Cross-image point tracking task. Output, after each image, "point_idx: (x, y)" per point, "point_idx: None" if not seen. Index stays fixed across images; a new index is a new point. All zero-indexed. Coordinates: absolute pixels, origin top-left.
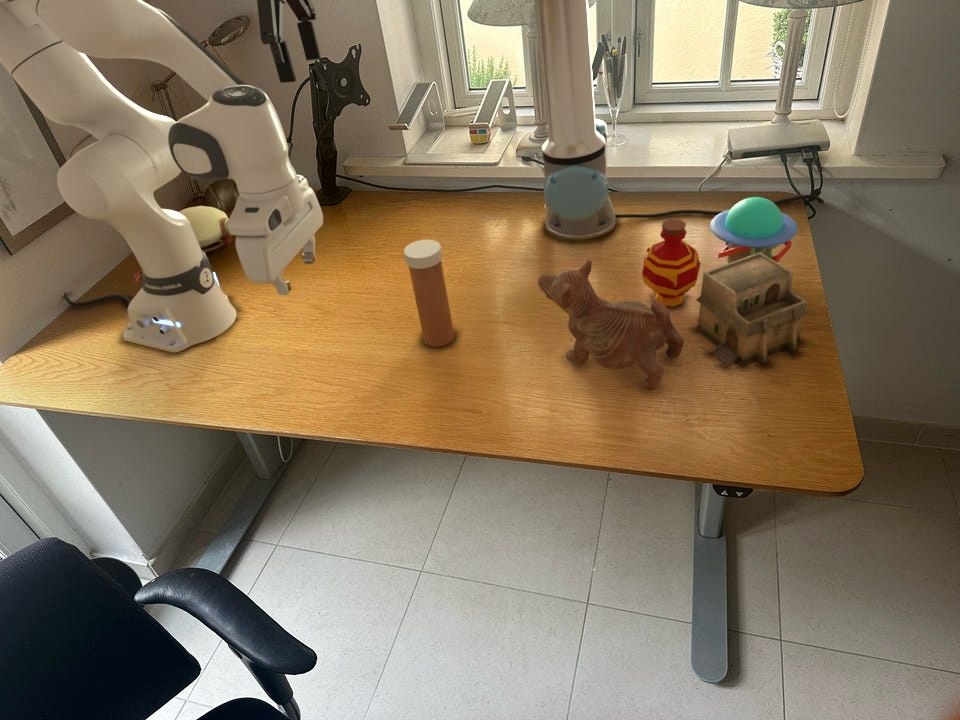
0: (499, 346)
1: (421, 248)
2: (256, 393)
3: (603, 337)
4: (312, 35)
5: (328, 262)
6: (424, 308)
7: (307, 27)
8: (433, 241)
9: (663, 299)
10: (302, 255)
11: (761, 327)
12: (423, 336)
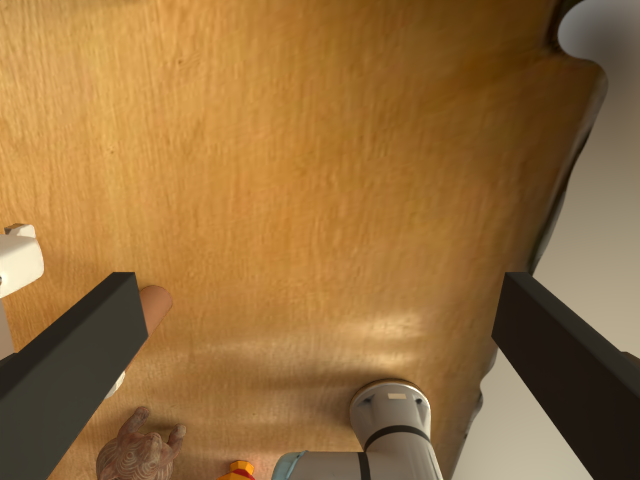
0: (151, 354)
1: None
2: (6, 115)
3: (100, 467)
4: (566, 427)
5: (323, 106)
6: None
7: (614, 465)
8: (111, 390)
9: (232, 469)
10: (5, 229)
11: None
12: (141, 291)
